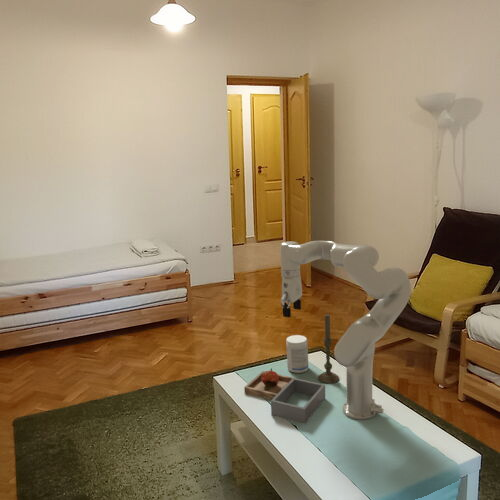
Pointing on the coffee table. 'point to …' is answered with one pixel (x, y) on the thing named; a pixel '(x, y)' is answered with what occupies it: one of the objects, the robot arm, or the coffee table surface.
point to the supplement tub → (297, 353)
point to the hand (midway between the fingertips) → (292, 312)
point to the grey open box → (293, 411)
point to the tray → (266, 387)
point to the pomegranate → (270, 378)
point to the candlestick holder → (328, 356)
